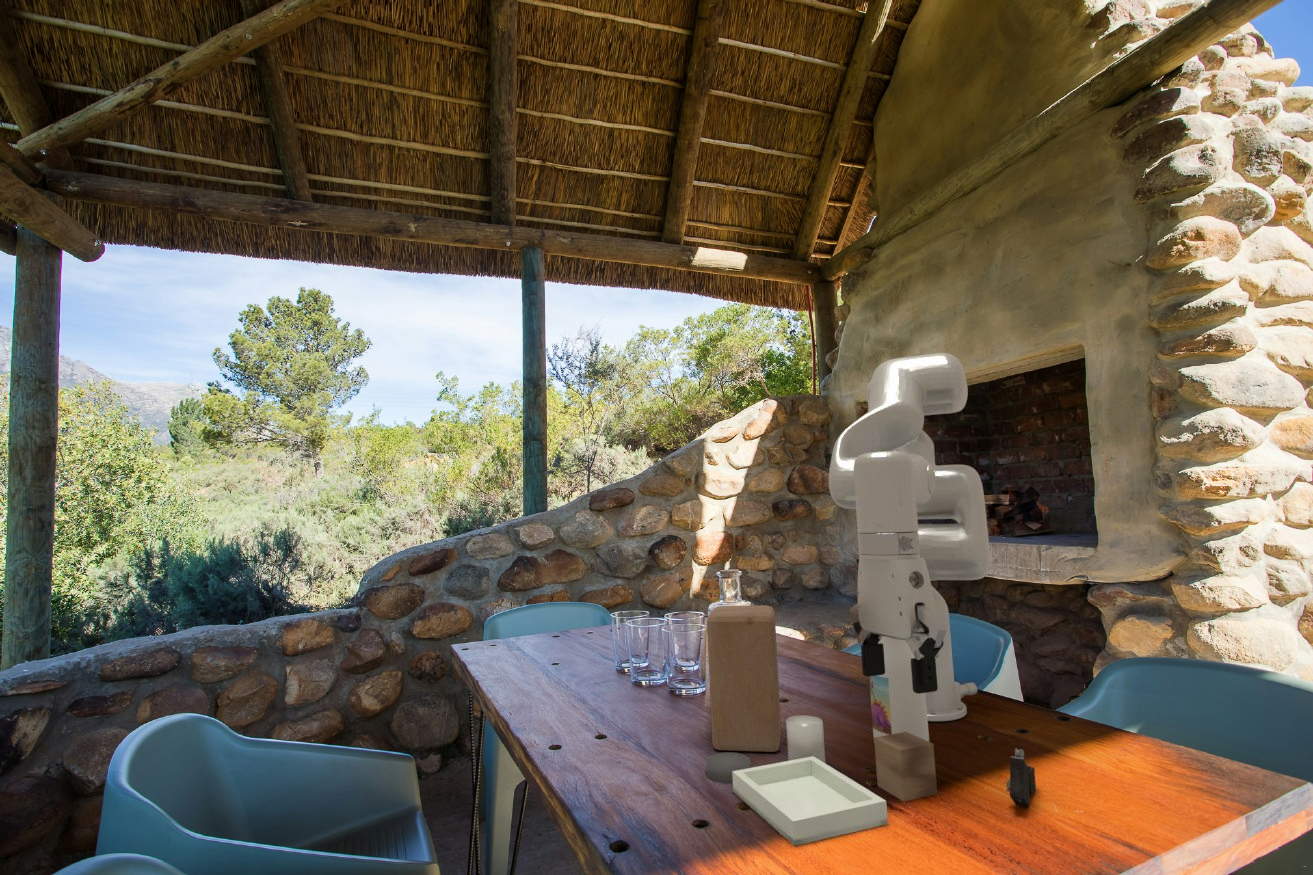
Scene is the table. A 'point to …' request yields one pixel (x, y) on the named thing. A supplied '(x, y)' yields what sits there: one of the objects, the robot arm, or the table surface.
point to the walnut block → (905, 766)
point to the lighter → (1020, 779)
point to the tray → (809, 800)
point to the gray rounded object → (726, 766)
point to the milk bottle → (897, 694)
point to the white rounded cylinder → (805, 737)
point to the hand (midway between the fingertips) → (898, 682)
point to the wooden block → (744, 678)
